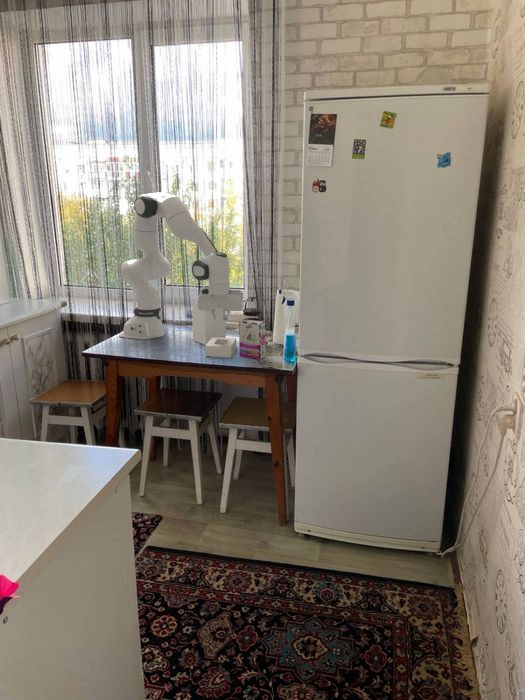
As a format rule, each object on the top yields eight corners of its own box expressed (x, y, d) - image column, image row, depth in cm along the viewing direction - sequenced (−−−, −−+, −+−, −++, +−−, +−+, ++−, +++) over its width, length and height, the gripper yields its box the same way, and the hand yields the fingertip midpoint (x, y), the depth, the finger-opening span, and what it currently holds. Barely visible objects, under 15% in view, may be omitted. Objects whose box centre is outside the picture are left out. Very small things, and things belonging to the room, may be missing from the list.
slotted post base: (205, 356, 233) (205, 345, 231) (212, 347, 246) (212, 337, 244) (231, 357, 231) (231, 346, 230) (236, 348, 245) (236, 338, 243)
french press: (248, 340, 257) (247, 294, 251) (265, 342, 254) (265, 295, 247) (237, 346, 247) (236, 298, 240) (255, 349, 244) (255, 300, 237)
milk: (205, 345, 250) (203, 291, 242) (192, 339, 258) (190, 287, 251) (225, 340, 257) (224, 288, 250) (212, 335, 266) (211, 285, 258)
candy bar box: (266, 357, 231) (266, 321, 227) (260, 360, 227) (260, 324, 222) (244, 353, 237) (244, 318, 232) (238, 356, 233) (238, 320, 228)
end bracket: (216, 335, 233) (215, 307, 229) (218, 332, 239) (217, 304, 235) (223, 336, 233) (223, 307, 229) (226, 332, 238) (225, 304, 235)
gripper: (244, 288, 232) (244, 318, 236) (199, 287, 234) (200, 317, 238) (242, 291, 226) (242, 322, 230) (195, 290, 228) (197, 321, 232)
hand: (220, 320), depth 234 cm, fingers closed on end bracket, 3 cm apart
